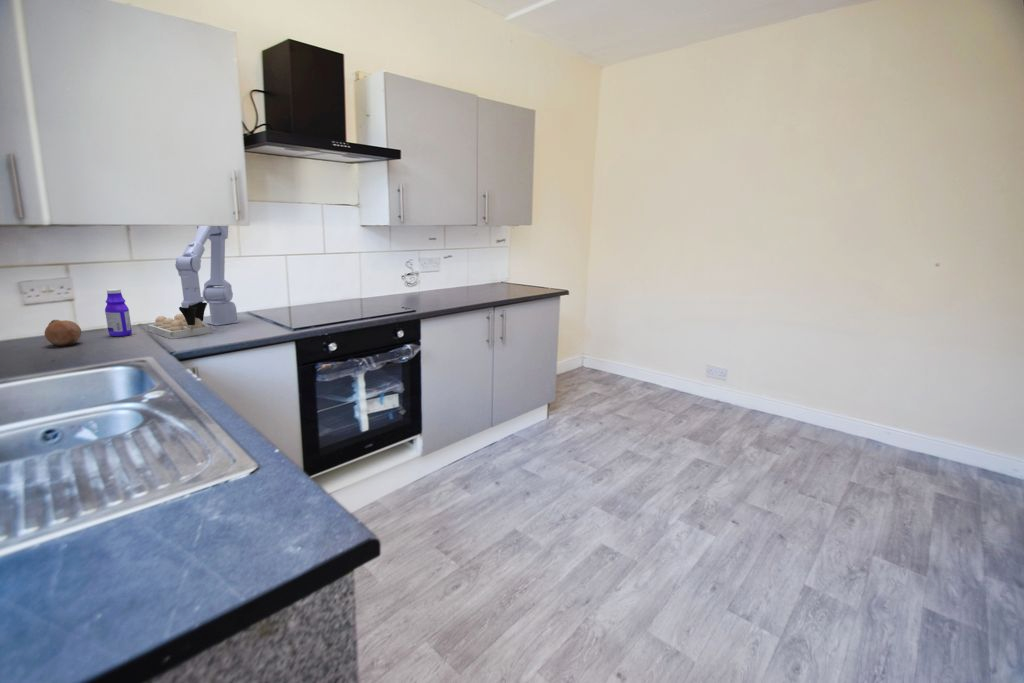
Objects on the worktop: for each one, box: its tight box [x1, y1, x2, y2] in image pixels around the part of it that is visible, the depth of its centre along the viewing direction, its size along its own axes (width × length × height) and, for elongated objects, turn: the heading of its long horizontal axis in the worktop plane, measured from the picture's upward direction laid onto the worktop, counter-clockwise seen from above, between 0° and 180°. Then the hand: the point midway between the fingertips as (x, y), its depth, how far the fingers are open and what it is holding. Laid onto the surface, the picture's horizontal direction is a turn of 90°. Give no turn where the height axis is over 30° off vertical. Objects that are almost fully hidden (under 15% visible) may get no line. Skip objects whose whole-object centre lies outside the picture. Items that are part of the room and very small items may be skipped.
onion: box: [44, 319, 82, 347], centre depth 173 cm, size 10×9×10 cm
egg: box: [190, 318, 203, 329], centre depth 195 cm, size 4×4×5 cm
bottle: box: [104, 288, 133, 337], centre depth 187 cm, size 7×6×17 cm
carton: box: [147, 313, 212, 340], centre depth 196 cm, size 14×21×6 cm
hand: (195, 323), depth 194 cm, fingers open, 7 cm apart
